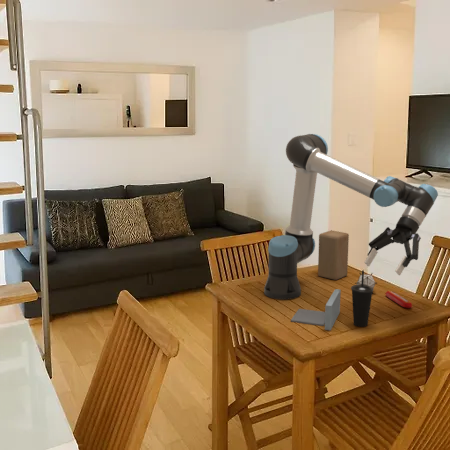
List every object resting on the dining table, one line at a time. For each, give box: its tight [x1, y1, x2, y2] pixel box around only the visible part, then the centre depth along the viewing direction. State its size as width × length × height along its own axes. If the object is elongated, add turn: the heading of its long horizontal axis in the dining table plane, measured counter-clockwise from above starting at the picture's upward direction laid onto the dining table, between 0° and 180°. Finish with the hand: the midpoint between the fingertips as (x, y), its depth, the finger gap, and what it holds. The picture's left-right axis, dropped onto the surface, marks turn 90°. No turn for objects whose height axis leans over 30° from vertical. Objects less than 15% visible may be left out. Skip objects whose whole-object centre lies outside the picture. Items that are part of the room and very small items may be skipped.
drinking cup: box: [350, 269, 375, 328], centre depth 197 cm, size 8×8×20 cm
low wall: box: [324, 288, 342, 331], centre depth 202 cm, size 2×18×9 cm, turn 158°
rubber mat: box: [290, 308, 325, 327], centre depth 206 cm, size 12×12×1 cm
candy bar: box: [384, 290, 413, 309], centre depth 220 cm, size 16×4×3 cm, turn 14°
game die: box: [354, 272, 378, 295], centre depth 231 cm, size 9×8×10 cm
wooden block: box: [317, 229, 350, 281], centre depth 251 cm, size 10×10×20 cm
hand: (381, 268), depth 200 cm, fingers open, 13 cm apart
